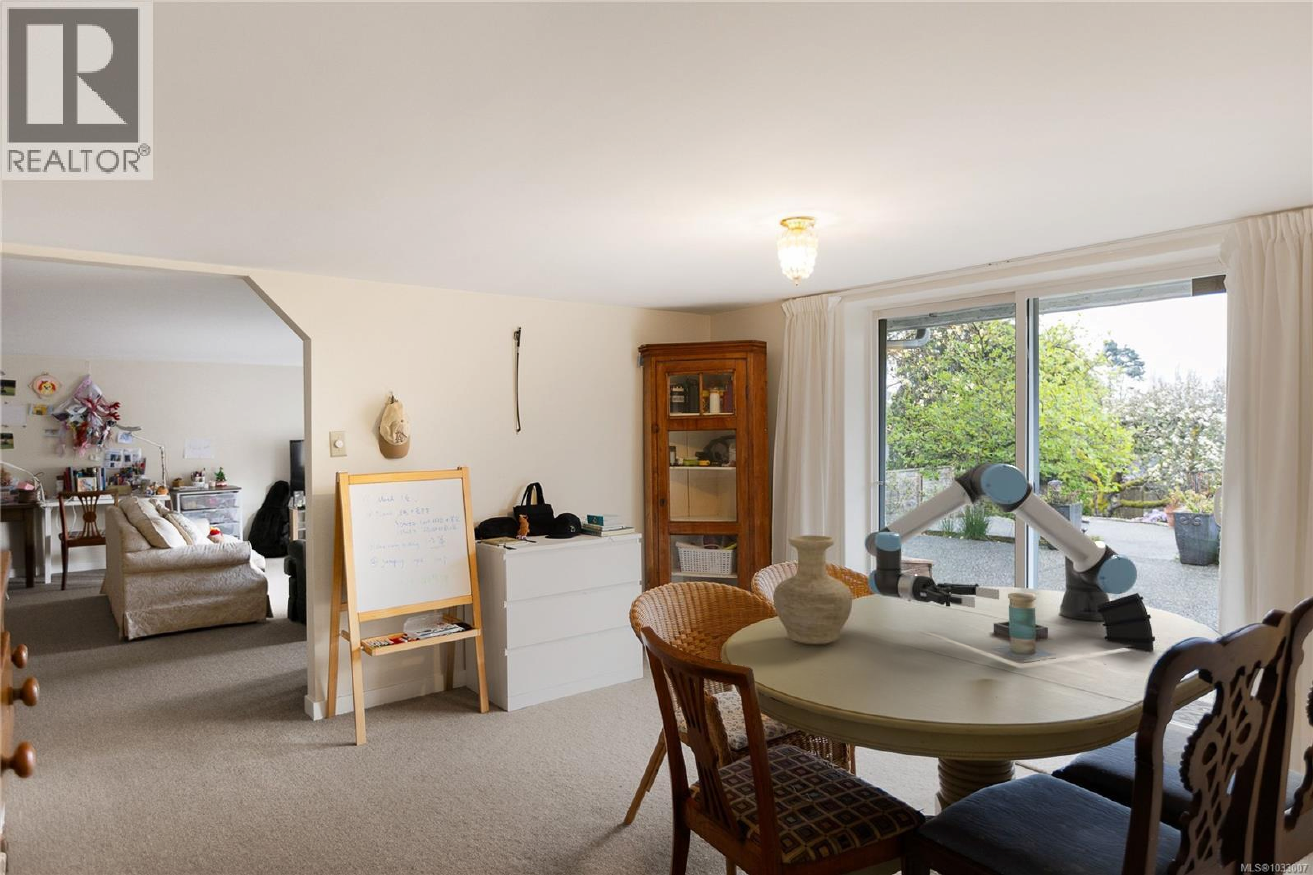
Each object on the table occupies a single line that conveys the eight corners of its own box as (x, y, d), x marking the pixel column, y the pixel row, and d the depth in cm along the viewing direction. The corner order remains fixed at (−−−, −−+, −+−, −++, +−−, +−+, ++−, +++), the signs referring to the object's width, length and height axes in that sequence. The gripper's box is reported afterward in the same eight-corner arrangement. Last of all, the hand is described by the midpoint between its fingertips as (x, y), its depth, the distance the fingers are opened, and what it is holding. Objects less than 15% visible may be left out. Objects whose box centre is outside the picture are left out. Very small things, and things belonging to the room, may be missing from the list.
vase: (781, 629, 241) (779, 532, 240) (856, 634, 233) (854, 534, 233) (767, 649, 220) (765, 542, 219) (848, 655, 212) (846, 544, 212)
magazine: (1162, 648, 206) (1135, 594, 211) (1114, 660, 216) (1088, 608, 221) (1167, 646, 209) (1140, 592, 214) (1119, 657, 218) (1094, 605, 223)
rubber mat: (1023, 647, 216) (1023, 644, 216) (1056, 658, 205) (1055, 654, 205) (991, 652, 212) (991, 648, 212) (1023, 663, 202) (1023, 659, 202)
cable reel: (1023, 646, 213) (1021, 591, 213) (1043, 653, 207) (1041, 596, 207) (1003, 649, 211) (1002, 594, 211) (1022, 656, 204) (1021, 598, 205)
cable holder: (1020, 632, 232) (1020, 618, 232) (1053, 642, 221) (1053, 627, 221) (988, 636, 228) (988, 622, 228) (1020, 646, 217) (1020, 632, 217)
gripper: (940, 594, 240) (1008, 604, 224) (894, 607, 224) (963, 619, 208) (939, 569, 240) (1007, 578, 224) (893, 581, 224) (962, 591, 208)
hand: (986, 598), depth 216 cm, fingers open, 13 cm apart
